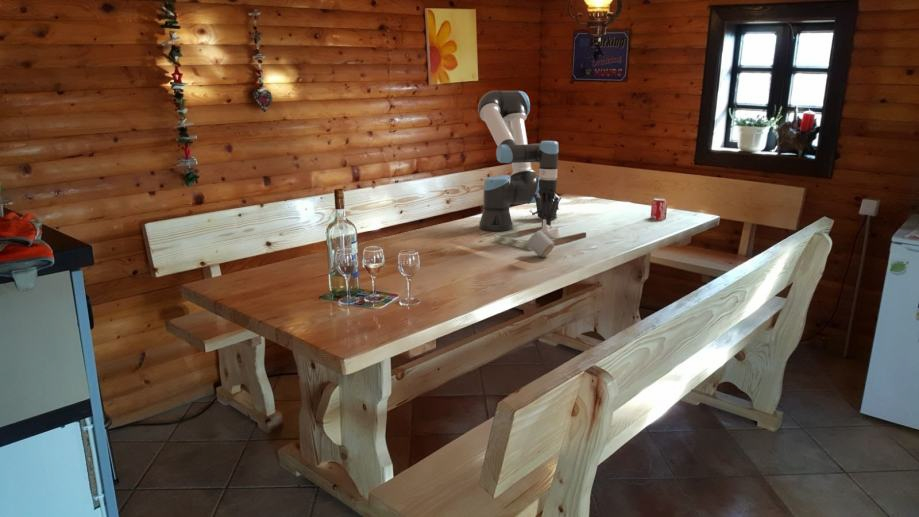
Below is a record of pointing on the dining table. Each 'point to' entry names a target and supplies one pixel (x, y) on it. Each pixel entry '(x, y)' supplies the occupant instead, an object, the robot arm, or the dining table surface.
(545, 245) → the ceramic mug
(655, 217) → the soda can
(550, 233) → the die
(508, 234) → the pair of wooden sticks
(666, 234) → the dining table surface
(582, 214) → the dining table surface
